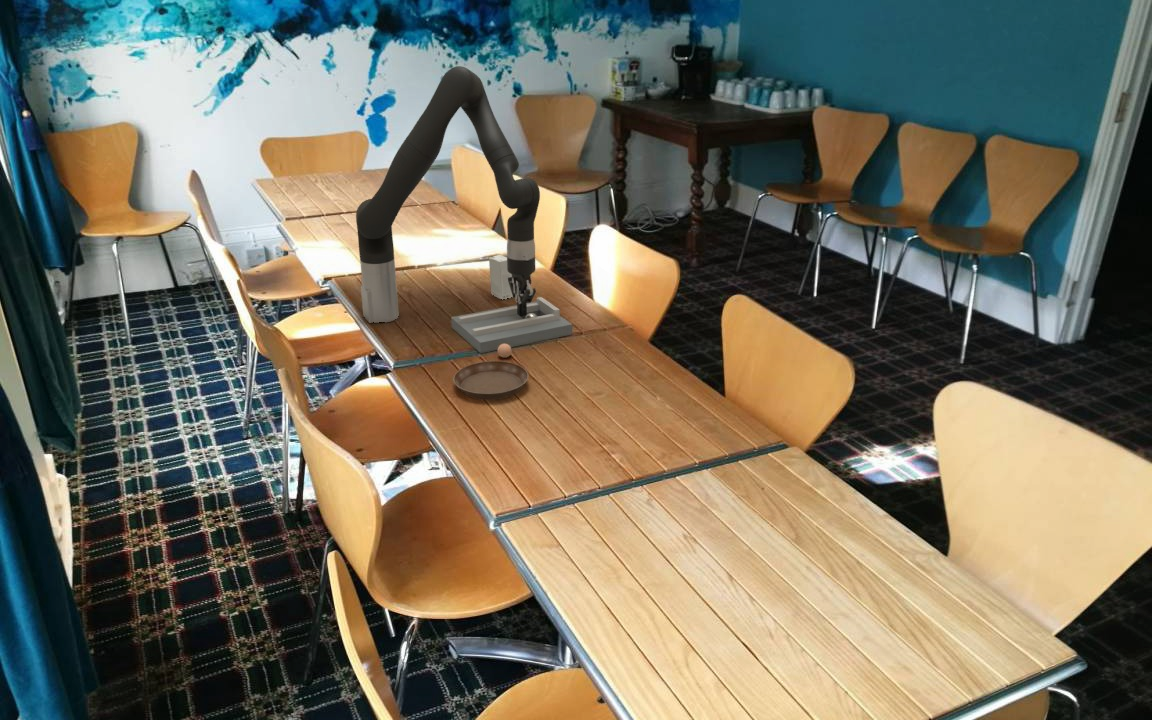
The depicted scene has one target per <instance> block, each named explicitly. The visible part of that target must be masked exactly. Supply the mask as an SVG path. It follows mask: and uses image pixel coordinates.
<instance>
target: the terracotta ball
mask: <svg viewBox="0 0 1152 720" xmlns="http://www.w3.org/2000/svg"><path fill="white" fill-rule="evenodd" d="M496 351H497V354H498V355H499V357H501V358H502V359H503V358H509V356H511V354H512V352H513V351H512V347H510V346H509V345H508V344H501V345H500V346H499V347H498V350H496Z"/></svg>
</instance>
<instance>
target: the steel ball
mask: <svg viewBox="0 0 1152 720" xmlns="http://www.w3.org/2000/svg"><path fill="white" fill-rule="evenodd" d="M533 317H538V316H537V315H536V314H534V313H529V314H527V315H526V316H525V318H524V319H527V318H533Z"/></svg>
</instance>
